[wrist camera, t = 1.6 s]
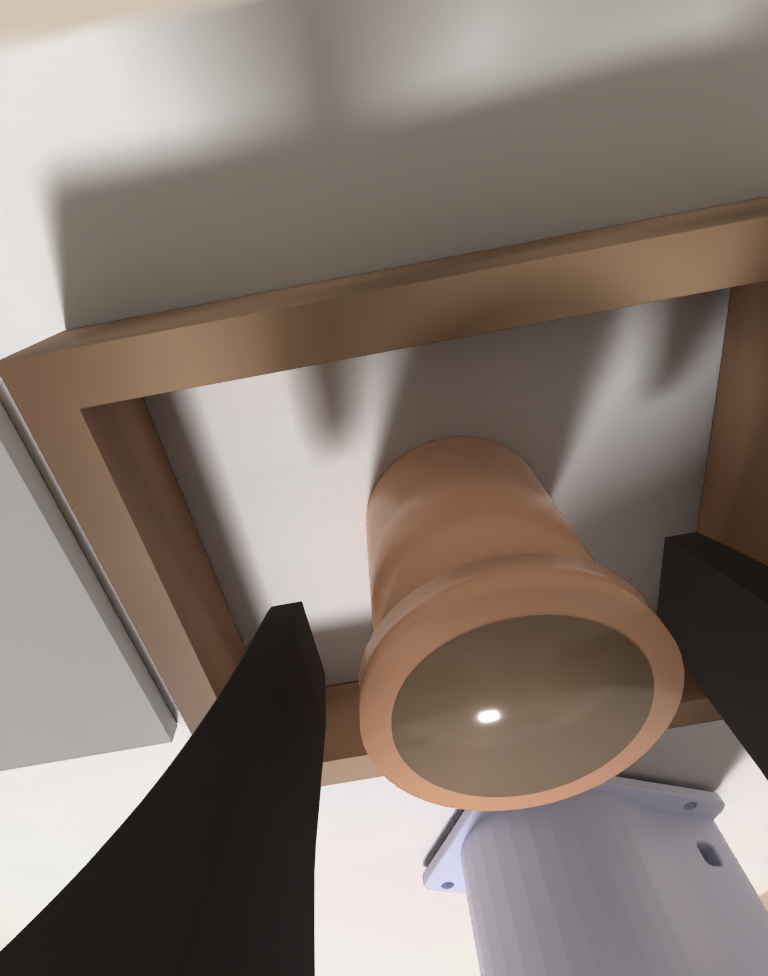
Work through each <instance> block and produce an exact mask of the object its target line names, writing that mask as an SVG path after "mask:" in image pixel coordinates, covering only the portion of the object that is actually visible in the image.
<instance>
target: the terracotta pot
mask: <svg viewBox="0 0 768 976" xmlns="http://www.w3.org/2000/svg"><path fill="white" fill-rule="evenodd" d="M366 528H367V545H368V561H369V577H370V593H371V609H372V626H373V634H372V636H371V638H370V640H369V642H368V644H367V646H366V647H365V650H364V654H363V657H362V660H361V663H360V670H359V715H360V733H361V737H362V741H363V745H364V747H365V750H366V752H367V754H368V756H369V758H370V759H371V761H372V762H373V764H374V765H375V766H376V768H377V769H378V770H379V771H380V772H381V773H382V774H383V775H384V776H385V777H386V778H387V779H388V780H389V781H390V782H392V783H393V784H395V785H396V786H397V787H399V788H400V789H402V790H404V791H406V792H407V793H409V794H411V795H413V796H415V797H418V798H420V799H423V800H425V801H428V802H431V803H435V804H438V805H442V806H446V807H451V808H457V809H463V810H474V811H504V810H516V809H523V808H530V807H536V806H540V805H545V804H549V803H553V802H556V801H560V800H563V799H566V798H569V797H572V796H575V795H577V794H580V793H582V792H585V791H587V790H589V789H592V788H594V787H596V786H598V785H600V784H602V783H604V782H606V781H607V780H609V779H611V778H613V777H614V776H616V775H618V774H619V773H621V772H622V771H624V770H625V769H626V768H628V767H629V766H631V765H632V764H633V763H635V762H636V761H637V760H638V759H639V758H640V757H642V756H643V755H644V754H645V753H646V752H647V751H648V750H649V749H650V748H651V747H652V746H653V745H654V744H655V743H656V742H657V741H658V740H659V738H660V737H661V736H662V734H663V733H664V732H665V730H666V729H667V728H668V726H669V724H670V723H671V721H672V719H673V717H674V716H675V714H676V711H677V709H678V706H679V704H680V701H681V698H682V693H683V688H684V666H683V661H682V655H681V653H680V651H679V648H678V646H677V644H676V641H675V640H674V638H673V637H672V636H671V634H670V633H669V631H668V630H667V628H666V627H665V626H664V624H663V623H662V622H661V620H660V619H659V618H658V616H657V615H656V614H655V612H654V611H653V610H652V608H651V607H650V606H649V604H648V603H647V602H646V600H645V599H644V598H643V596H642V595H641V594H640V593H639V592H638V591H637V590H636V589H635V588H634V587H633V586H632V585H631V584H630V583H629V582H628V581H627V580H625V579H624V578H622V577H621V576H619V575H618V574H617V573H615V572H613V571H611V570H609V569H607V568H605V567H603V566H601V565H599V564H597V563H596V562H595V561H594V559H593V558H592V556H591V555H590V553H589V552H588V551H587V549H586V548H585V546H584V545H583V543H582V542H581V540H580V539H579V538H578V536H577V535H576V533H575V532H574V530H573V529H572V527H571V526H570V525H569V523H568V522H567V520H566V519H565V517H564V516H563V514H562V513H561V512H560V510H559V509H558V507H557V506H556V504H555V503H554V501H553V500H552V499H551V497H550V496H549V494H548V493H547V491H546V490H545V488H544V487H543V486H542V484H541V483H540V481H539V480H538V478H537V477H536V475H535V474H534V473H533V471H532V470H531V468H530V467H529V466H528V464H527V463H526V462H525V461H524V460H523V459H522V458H521V457H520V456H519V455H517V454H516V453H515V452H513V451H512V450H511V449H509V448H507V447H505V446H503V445H501V444H499V443H496V442H493V441H490V440H486V439H482V438H476V437H450V438H444V439H439V440H435V441H432V442H429V443H426V444H424V445H421V446H419V447H417V448H415V449H413V450H411V451H409V452H408V453H406V454H405V455H403V456H402V457H400V458H399V459H398V460H396V461H395V462H394V463H393V464H392V465H391V466H390V467H389V468H388V469H387V470H386V471H385V473H384V474H383V475H382V476H381V478H380V479H379V481H378V482H377V484H376V486H375V487H374V490H373V492H372V494H371V496H370V500H369V503H368V507H367V514H366Z"/></svg>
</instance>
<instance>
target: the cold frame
mask: <svg viewBox="0 0 768 976" xmlns="http://www.w3.org/2000/svg"><path fill="white" fill-rule="evenodd" d="M729 287H732V290H731V297H730V305H729V312H728V319H727V326H726V333H725V340H724V347H723V354H722V361H721V368H720V375H719V382H718V389H717V396H716V404H715V411H714V418H713V425H712V432H711V439H710V446H709V453H708V460H707V467H706V474H705V481H704V488H703V495H702V503H701V510H700V517H699V524H698V531H697V532H698V533H700V534H702V535H705V536H707V537H709V538H711V539H714V540H716V541H718V542H720V543H722V544H724V545H726V546H728V547H730V548H732V549H735V550H737V551H739V552H741V553H743V554H745V555H747V556H749V557H751V558H753V559H755V560H757V561H759V562H761V563H763V564H765V565H767V566H768V197H763V198H758V199H753V200H748V201H742V202H737V203H732V204H727V205H721V206H716V207H711V208H706V209H700V210H695V211H690V212H685V213H679V214H674V215H669V216H664V217H658V218H653V219H648V220H643V221H637V222H632V223H627V224H622V225H616V226H611V227H606V228H601V229H595V230H590V231H585V232H580V233H574V234H569V235H564V236H559V237H553V238H548V239H543V240H538V241H532V242H527V243H522V244H517V245H511V246H506V247H501V248H496V249H490V250H485V251H480V252H475V253H469V254H464V255H459V256H454V257H448V258H443V259H438V260H433V261H427V262H422V263H417V264H412V265H406V266H401V267H396V268H391V269H385V270H380V271H375V272H370V273H364V274H359V275H354V276H349V277H343V278H338V279H333V280H328V281H322V282H317V283H312V284H307V285H301V286H296V287H291V288H286V289H280V290H275V291H270V292H265V293H259V294H254V295H249V296H244V297H238V298H233V299H228V300H223V301H217V302H212V303H207V304H202V305H196V306H191V307H186V308H181V309H175V310H170V311H165V312H160V313H154V314H149V315H144V316H139V317H133V318H128V319H123V320H118V321H112V322H107V323H102V324H97V325H91V326H86V327H81V328H76V329H70V330H65V331H63V332H60V333H58V334H56V335H54V336H52V337H49V338H47V339H45V340H43V341H41V342H39V343H36V344H34V345H32V346H30V347H28V348H25V349H23V350H21V351H19V352H17V353H14V354H12V355H10V356H8V357H6V358H4V359H1V360H0V376H1V378H2V380H3V382H4V383H5V385H6V387H7V389H8V391H9V393H10V395H11V397H12V398H13V400H14V402H15V404H16V406H17V408H18V410H19V412H20V413H21V415H22V417H23V419H24V421H25V423H26V425H27V427H28V428H29V430H30V432H31V434H32V436H33V438H34V440H35V442H36V443H37V445H38V447H39V449H40V451H41V453H42V455H43V457H44V458H45V460H46V462H47V464H48V466H49V468H50V470H51V471H52V473H53V475H54V477H55V479H56V481H57V483H58V485H59V486H60V488H61V490H62V492H63V494H64V496H65V498H66V500H67V501H68V503H69V505H70V507H71V509H72V511H73V513H74V515H75V516H76V518H77V520H78V522H79V524H80V526H81V528H82V530H83V531H84V533H85V535H86V537H87V539H88V541H89V543H90V545H91V546H92V548H93V550H94V552H95V554H96V556H97V558H98V559H99V561H100V563H101V565H102V567H103V569H104V571H105V573H106V574H107V576H108V578H109V580H110V582H111V584H112V586H113V588H114V589H115V591H116V593H117V595H118V597H119V599H120V601H121V603H122V604H123V606H124V608H125V610H126V612H127V614H128V616H129V618H130V619H131V621H132V623H133V625H134V627H135V629H136V631H137V633H138V634H139V636H140V638H141V640H142V642H143V644H144V646H145V647H146V649H147V651H148V653H149V655H150V657H151V659H152V661H153V662H154V664H155V666H156V668H157V670H158V672H159V674H160V676H161V677H162V679H163V681H164V683H165V685H166V687H167V689H168V691H169V692H170V694H171V696H172V698H173V700H174V702H175V704H176V706H177V707H178V709H179V711H180V713H181V715H182V717H183V719H184V721H185V722H186V724H187V726H188V728H189V730H190V732H191V734H193V733H194V731H195V730H196V728H197V727H198V725H199V724H200V722H201V721H202V720H203V718H204V717H205V715H206V714H207V712H208V711H209V709H210V708H211V706H212V705H213V703H214V702H215V700H216V699H217V697H218V696H219V694H220V692H221V691H222V689H223V687H224V686H225V684H226V683H227V681H228V679H229V678H230V676H231V674H232V673H233V671H234V670H235V668H236V666H237V665H238V663H239V661H240V660H241V658H242V656H243V654H244V653H245V651H246V649H245V647H244V644H243V642H242V639H241V637H240V634H239V632H238V630H237V627H236V625H235V622H234V620H233V617H232V615H231V612H230V610H229V608H228V605H227V603H226V600H225V598H224V595H223V593H222V590H221V588H220V586H219V583H218V581H217V578H216V576H215V573H214V571H213V568H212V566H211V564H210V561H209V559H208V556H207V554H206V551H205V549H204V546H203V544H202V542H201V539H200V537H199V534H198V532H197V529H196V527H195V524H194V522H193V520H192V517H191V515H190V512H189V510H188V507H187V505H186V502H185V500H184V498H183V495H182V493H181V490H180V488H179V485H178V483H177V480H176V478H175V475H174V473H173V471H172V468H171V466H170V463H169V461H168V458H167V456H166V453H165V451H164V449H163V446H162V444H161V441H160V439H159V436H158V434H157V431H156V429H155V427H154V424H153V422H152V419H151V417H150V414H149V412H148V409H147V407H146V405H145V402H144V400H143V397H145V396H150V395H156V394H161V393H167V392H172V391H177V390H183V389H188V388H193V387H199V386H204V385H209V384H215V383H220V382H225V381H231V380H236V379H242V378H247V377H252V376H258V375H263V374H268V373H274V372H279V371H284V370H290V369H295V368H301V367H306V366H311V365H317V364H322V363H327V362H333V361H338V360H343V359H349V358H354V357H360V356H365V355H370V354H376V353H381V352H386V351H392V350H397V349H402V348H408V347H413V346H419V345H424V344H429V343H435V342H440V341H445V340H451V339H456V338H461V337H467V336H472V335H477V334H483V333H488V332H494V331H499V330H504V329H510V328H515V327H520V326H526V325H531V324H536V323H542V322H547V321H553V320H558V319H563V318H569V317H574V316H579V315H585V314H590V313H595V312H601V311H606V310H612V309H617V308H622V307H628V306H633V305H638V304H644V303H649V302H654V301H660V300H665V299H671V298H676V297H681V296H687V295H692V294H697V293H703V292H708V291H713V290H719V289H724V288H729ZM683 666H684V665H683ZM325 697H326V730H325V743H324V755H323V767H322V778H321V786H325V785H331V784H337V783H343V782H349V781H355V780H362V779H368V778H374V777H380V776H384V775H383V774H382V773H381V772H380V771H379V770H378V769H377V768H376V766H375V765H374V764H373V762H372V761H371V759H370V758H369V756H368V754H367V752H366V750H365V747H364V745H363V741H362V737H361V733H360V715H359V682H353V683H347V684H341V685H335V686H329V687H325ZM717 720H723V718H722V717H721V716H720V714H719V713H718V712H717V710H716V709H715V707H714V706H713V705H712V703H711V702H710V701H709V699H708V698H707V697H706V695H705V694H704V692H703V691H702V690H701V688H700V687H699V686H698V684H697V683H696V681H695V680H694V679H693V677H692V676H691V675H690V673H689V672H688V670H687V669H686V667H685V666H684V688H683V693H682V698H681V701H680V704H679V706H678V709H677V711H676V714H675V716H674V717H673V719H672V721H671V723H670V724H669V726H668V728H667V729H669V728H675V727H681V726H687V725H693V724H699V723H705V722H711V721H717Z"/></svg>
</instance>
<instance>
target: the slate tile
mask: <svg viewBox="0 0 768 976" xmlns="http://www.w3.org/2000/svg"><path fill="white" fill-rule="evenodd" d="M176 728H177V723H176V721H175V720H174V718H173V716H172V714H171V712H170V710H169V709H168V707H167V705H166V703H165V701H164V700H163V698H162V696H161V694H160V692H159V690H158V689H157V687H156V685H155V683H154V681H153V679H152V678H151V676H150V674H149V672H148V670H147V668H146V667H145V665H144V663H143V661H142V659H141V657H140V656H139V654H138V652H137V650H136V648H135V647H134V645H133V643H132V641H131V639H130V637H129V636H128V634H127V632H126V630H125V628H124V626H123V625H122V623H121V621H120V619H119V617H118V615H117V614H116V612H115V610H114V608H113V606H112V604H111V603H110V601H109V599H108V597H107V595H106V594H105V592H104V590H103V588H102V586H101V584H100V583H99V581H98V579H97V577H96V575H95V573H94V572H93V570H92V568H91V566H90V564H89V562H88V561H87V559H86V557H85V555H84V553H83V552H82V550H81V548H80V546H79V544H78V542H77V541H76V539H75V537H74V535H73V533H72V531H71V530H70V528H69V526H68V524H67V522H66V520H65V519H64V517H63V515H62V513H61V511H60V509H59V508H58V506H57V504H56V502H55V500H54V499H53V497H52V495H51V493H50V491H49V489H48V488H47V486H46V484H45V482H44V480H43V478H42V477H41V475H40V473H39V471H38V469H37V467H36V466H35V464H34V462H33V460H32V458H31V456H30V455H29V453H28V451H27V449H26V447H25V446H24V444H23V442H22V440H21V438H20V436H19V435H18V433H17V431H16V429H15V427H14V425H13V424H12V422H11V420H10V418H9V416H8V414H7V413H6V411H5V409H4V407H3V405H2V404H1V402H0V771H3V770H9V769H15V768H20V767H26V766H32V765H38V764H44V763H50V762H56V761H62V760H68V759H74V758H80V757H85V756H91V755H97V754H103V753H109V752H115V751H121V750H127V749H133V748H139V747H144V746H150V745H156V744H162V743H168V742H172V740H173V737H174V734H175V731H176Z"/></svg>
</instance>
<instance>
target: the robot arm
mask: <svg viewBox="0 0 768 976" xmlns="http://www.w3.org/2000/svg"><path fill="white" fill-rule="evenodd" d="M657 616H658V618H659V619H660V620H661V622H662V623H663V624H664V626H665V627H666V628H667V630H668V631H669V633H670V634H671V636H672V637H673V638H674V640H675V641H676V644H677V646H678V648H679V651H680V653H681V655H682V661H683V665H684V666H685V667H686V669H687V670H688V672H689V673H690V675H691V676H692V677H693V679H694V680H695V681H696V683H697V684H698V686H699V687H700V688H701V690H702V691H703V692H704V694H705V695H706V697H707V698H708V699H709V701H710V702H711V703H712V705H713V706H714V707H715V709H716V710H717V712H718V713H719V714H720V716H721V717H722V718H723V720H724V721H725V722H726V724H727V725H728V726H729V728H730V729H731V730H732V732H733V733H734V735H735V736H736V737H737V739H738V740H739V741H740V743H741V744H742V745H743V747H744V748H745V749H746V751H747V752H748V754H749V755H750V756H751V758H752V759H753V760H754V762H755V763H756V764H757V766H758V767H759V768H760V770H761V771H762V773H763V774H764V776H765V777H766V779H767V780H768V566H767V565H765V564H763V563H761V562H759V561H757V560H755V559H753V558H751V557H749V556H747V555H745V554H743V553H741V552H739V551H737V550H735V549H732V548H730V547H728V546H726V545H724V544H722V543H720V542H718V541H716V540H714V539H711V538H709V537H707V536H705V535H702V534H700V533H698V532H694V533H688V534H683V535H677V536H671V537H666V538H665V544H664V553H663V562H662V571H661V580H660V589H659V598H658V606H657ZM325 730H326V697H325V673H324V670H323V666H322V663H321V660H320V657H319V654H318V651H317V648H316V645H315V642H314V638H313V635H312V632H311V629H310V626H309V623H308V620H307V617H306V613H305V610H304V607H303V604H302V601H301V602H296V603H290V604H284V605H279V606H273V607H271V608H270V610H269V611H268V612H267V614H266V616H265V618H264V619H263V621H262V623H261V625H260V626H259V628H258V630H257V632H256V634H255V635H254V637H253V639H252V641H251V642H250V644H249V646H248V648H247V649H246V651H245V653H244V654H243V656H242V658H241V660H240V661H239V663H238V665H237V666H236V668H235V670H234V671H233V673H232V674H231V676H230V678H229V679H228V681H227V683H226V684H225V686H224V687H223V689H222V691H221V692H220V694H219V696H218V697H217V699H216V700H215V702H214V703H213V705H212V706H211V708H210V709H209V711H208V712H207V714H206V715H205V717H204V718H203V720H202V721H201V722H200V724H199V725H198V727H197V728H196V730H195V731H194V733H193V734H192V736H191V737H190V739H189V740H188V742H187V743H186V744H185V746H184V747H183V749H182V750H181V751H180V753H179V754H178V755H177V757H176V758H175V759H174V761H173V762H172V763H171V765H170V766H169V767H168V769H167V770H166V771H165V773H164V774H163V775H162V777H161V778H160V779H159V780H158V782H157V783H156V784H155V785H154V787H153V788H152V789H151V790H150V792H149V793H148V794H147V795H146V797H145V798H144V799H143V800H142V802H141V803H140V804H139V805H138V806H137V808H136V809H135V810H134V811H133V812H132V813H131V815H130V816H129V817H128V818H127V819H126V820H125V822H124V823H123V824H122V825H121V826H120V827H119V829H118V830H117V831H116V832H115V833H114V834H113V835H112V836H111V838H110V839H109V840H108V841H107V842H106V843H105V844H104V845H103V847H102V848H101V849H100V850H99V851H98V852H97V853H96V854H95V856H94V857H93V858H92V859H91V860H90V861H89V862H88V863H87V865H86V866H85V867H84V868H83V869H82V870H81V871H80V872H79V873H78V874H77V875H76V876H75V877H74V878H73V879H72V880H71V881H70V882H69V884H68V885H67V886H66V887H65V888H64V889H63V890H62V891H61V892H60V893H59V894H58V895H57V896H56V897H55V898H54V899H53V900H52V901H51V902H50V903H49V904H48V905H47V906H46V907H45V908H44V909H43V910H42V911H41V912H40V913H39V914H38V915H37V916H36V917H35V918H34V919H33V920H32V921H31V922H30V923H29V924H28V925H27V926H26V927H25V928H24V929H23V930H22V931H21V932H20V933H19V934H18V935H17V936H16V937H15V938H14V939H13V940H12V941H11V942H10V943H9V944H8V945H7V946H6V947H4V948H3V949H2V950H1V951H0V976H315V969H314V867H315V847H316V834H317V823H318V812H319V801H320V789H321V778H322V767H323V755H324V743H325ZM724 806H725V804H724V802H723V800H722V799H721V797H720V796H719V795H718V794H717V793H714V792H710V791H703V790H697V789H691V788H685V787H678V786H672V785H666V784H660V783H654V782H647V781H641V780H635V779H629V778H622V777H616V776H614V777H613V778H611V779H609V780H607V781H606V782H604V783H602V784H600V785H598V786H596V787H594V788H592V789H589V790H587V791H585V792H582V793H580V794H577V795H575V796H572V797H569V798H566V799H563V800H560V801H556V802H553V803H549V804H545V805H540V806H536V807H530V808H523V809H516V810H504V811H474V810H465V811H464V812H463V814H462V815H461V817H460V818H459V820H458V821H457V823H456V824H455V826H454V827H453V829H452V830H451V832H450V833H449V835H448V836H447V838H446V840H445V841H444V843H443V844H442V846H441V847H440V849H439V850H438V852H437V853H436V855H435V856H434V858H433V859H432V861H431V862H430V864H429V865H428V867H427V868H426V870H425V872H424V873H423V884H424V886H425V887H426V888H427V889H430V890H437V891H447V892H457V893H467V899H468V904H469V910H470V916H471V922H472V927H473V933H474V939H475V944H476V950H477V956H478V962H479V967H480V973H481V976H768V911H767V910H766V908H765V906H764V905H763V903H762V901H761V900H760V898H759V896H758V895H757V893H756V891H755V890H754V888H753V886H752V884H751V883H750V881H749V879H748V878H747V876H746V874H745V873H744V871H743V869H742V868H741V866H740V864H739V863H738V861H737V859H736V858H735V856H734V854H733V852H732V851H731V849H730V847H729V846H728V844H727V842H726V841H725V839H724V837H723V836H722V834H721V832H720V831H719V829H718V827H717V826H716V824H715V822H714V820H713V819H714V818H715V817H716V816H717V815H718V814H719V813H721V812H722V810H723V809H724Z"/></svg>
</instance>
